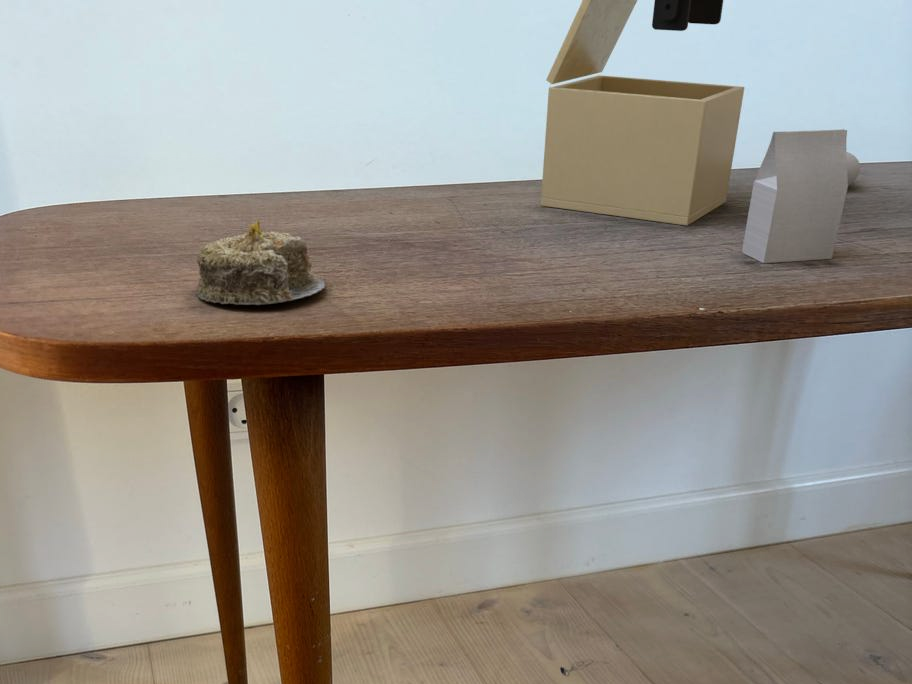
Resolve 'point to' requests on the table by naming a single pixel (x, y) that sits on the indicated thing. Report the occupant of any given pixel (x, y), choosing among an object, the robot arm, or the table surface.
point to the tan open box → (640, 147)
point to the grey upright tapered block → (798, 197)
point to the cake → (256, 269)
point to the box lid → (590, 39)
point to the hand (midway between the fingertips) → (686, 26)
